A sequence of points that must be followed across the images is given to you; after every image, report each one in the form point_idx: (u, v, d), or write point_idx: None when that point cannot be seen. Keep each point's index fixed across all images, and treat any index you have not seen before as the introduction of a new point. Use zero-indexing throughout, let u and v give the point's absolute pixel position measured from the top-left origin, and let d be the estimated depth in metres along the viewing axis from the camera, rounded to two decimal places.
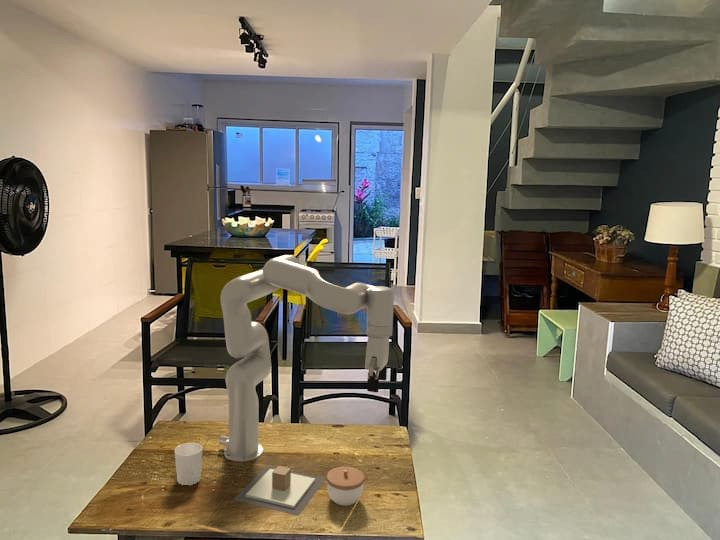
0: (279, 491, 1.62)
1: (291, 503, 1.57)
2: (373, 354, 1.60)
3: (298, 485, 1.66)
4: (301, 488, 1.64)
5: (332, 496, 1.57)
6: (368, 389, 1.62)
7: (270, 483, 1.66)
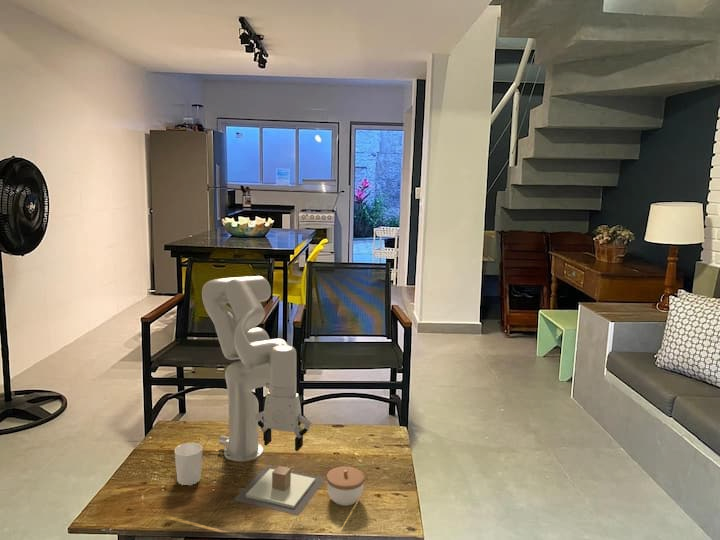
0: (279, 491, 1.62)
1: (291, 503, 1.57)
2: (298, 412, 1.59)
3: (298, 485, 1.66)
4: (301, 488, 1.64)
5: (332, 496, 1.57)
6: (297, 449, 1.60)
7: (270, 483, 1.66)
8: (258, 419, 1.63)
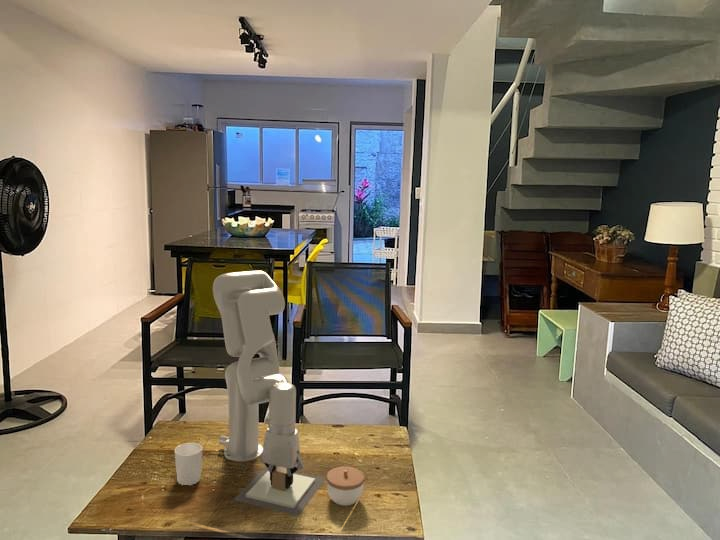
0: (279, 491, 1.62)
1: (291, 503, 1.57)
2: (297, 449, 1.61)
3: (298, 485, 1.66)
4: (301, 488, 1.64)
5: (332, 496, 1.57)
6: (287, 486, 1.63)
7: (270, 483, 1.66)
8: None
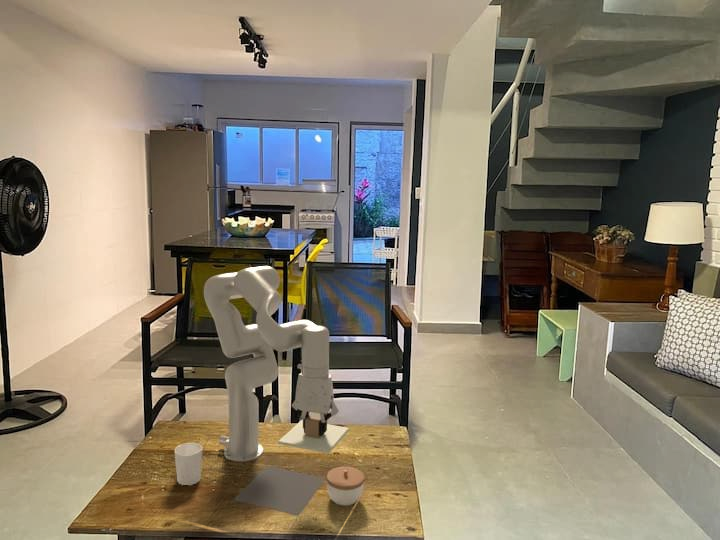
0: (313, 439, 1.57)
1: (326, 448, 1.51)
2: (331, 394, 1.56)
3: (332, 433, 1.60)
4: (335, 436, 1.59)
5: (332, 496, 1.57)
6: (321, 434, 1.58)
7: (303, 432, 1.61)
8: (296, 407, 1.60)
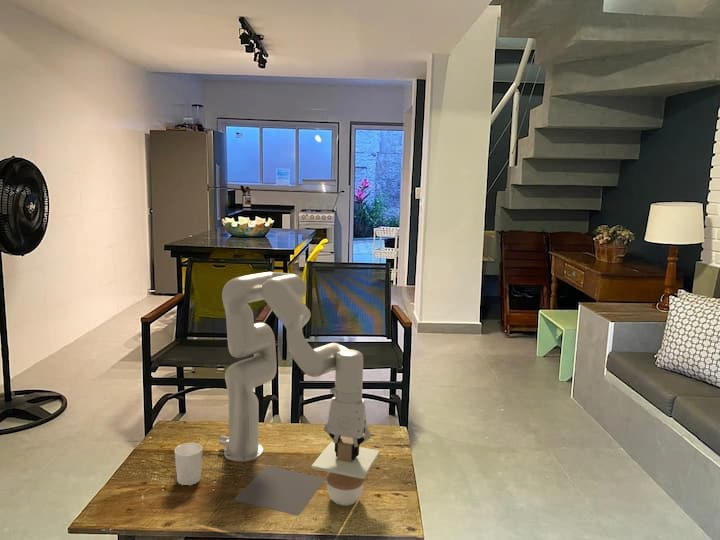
0: (346, 463, 1.56)
1: (360, 474, 1.51)
2: (364, 418, 1.55)
3: (364, 457, 1.60)
4: (367, 460, 1.58)
5: (332, 496, 1.57)
6: (354, 458, 1.57)
7: (334, 455, 1.60)
8: (328, 431, 1.59)
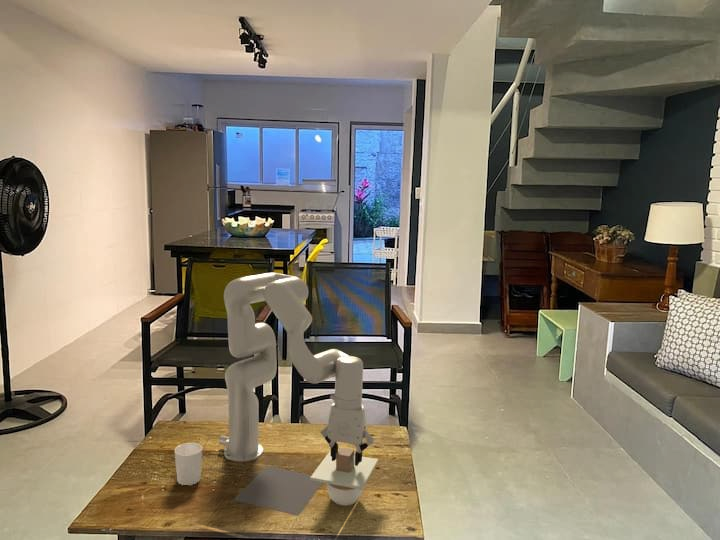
0: (344, 473, 1.57)
1: (359, 485, 1.52)
2: (364, 425, 1.56)
3: (362, 466, 1.60)
4: (366, 469, 1.59)
5: (332, 496, 1.57)
6: (357, 464, 1.57)
7: (333, 465, 1.61)
8: (324, 434, 1.60)
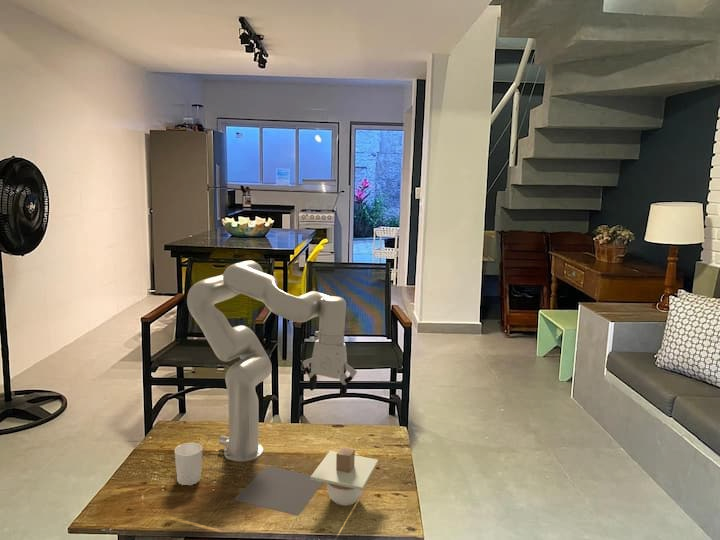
0: (344, 473, 1.57)
1: (359, 485, 1.52)
2: (345, 360, 1.67)
3: (362, 467, 1.61)
4: (366, 470, 1.59)
5: (332, 496, 1.57)
6: (341, 395, 1.68)
7: (333, 465, 1.61)
8: (305, 365, 1.71)
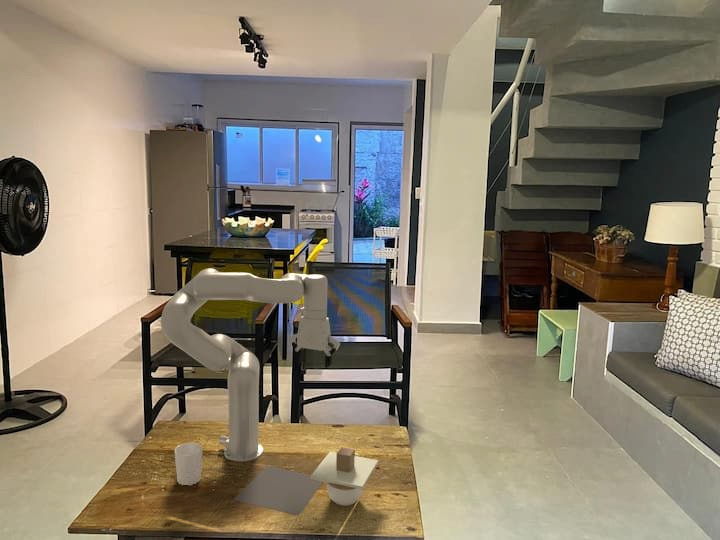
0: (344, 473, 1.57)
1: (359, 484, 1.52)
2: (328, 333, 1.80)
3: (362, 467, 1.61)
4: (366, 469, 1.59)
5: (332, 496, 1.57)
6: (327, 366, 1.81)
7: (333, 465, 1.61)
8: (292, 340, 1.84)
